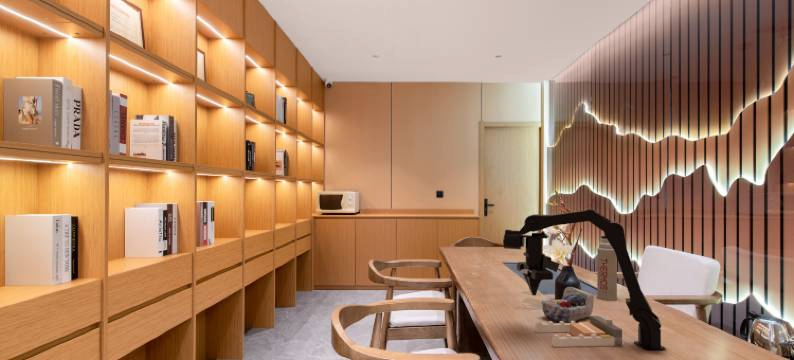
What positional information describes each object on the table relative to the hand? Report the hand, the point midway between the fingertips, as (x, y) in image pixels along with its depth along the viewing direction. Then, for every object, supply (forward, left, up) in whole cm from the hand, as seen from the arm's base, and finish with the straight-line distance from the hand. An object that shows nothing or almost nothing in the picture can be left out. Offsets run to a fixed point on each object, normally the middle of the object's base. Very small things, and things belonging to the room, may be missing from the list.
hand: (533, 295), depth 153 cm
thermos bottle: (+41, -50, -12) cm, 66 cm away
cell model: (+13, -18, -12) cm, 25 cm away
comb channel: (-9, -11, -12) cm, 19 cm away
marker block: (-9, -14, -12) cm, 21 cm away
